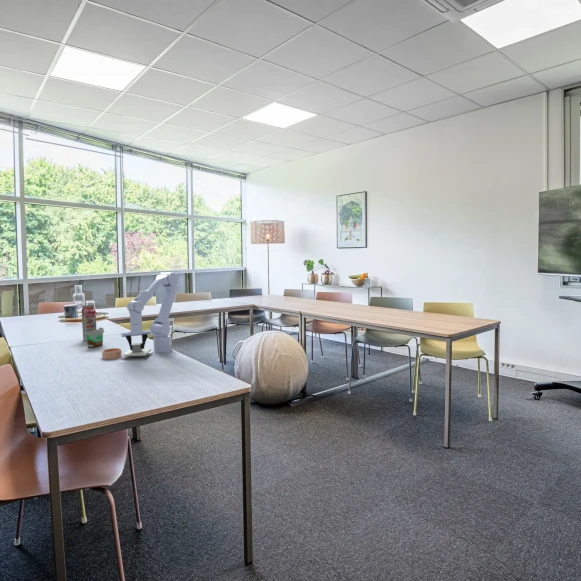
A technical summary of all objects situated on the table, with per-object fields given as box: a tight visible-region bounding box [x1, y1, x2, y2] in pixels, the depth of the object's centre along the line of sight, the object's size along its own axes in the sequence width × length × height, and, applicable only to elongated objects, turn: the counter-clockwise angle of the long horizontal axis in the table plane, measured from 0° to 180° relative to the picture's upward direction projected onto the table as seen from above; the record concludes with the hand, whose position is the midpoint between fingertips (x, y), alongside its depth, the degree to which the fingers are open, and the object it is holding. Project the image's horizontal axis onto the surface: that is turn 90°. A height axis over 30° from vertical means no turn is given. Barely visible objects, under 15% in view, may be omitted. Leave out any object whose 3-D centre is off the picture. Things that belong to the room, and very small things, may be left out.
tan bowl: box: [101, 347, 123, 360], centre depth 215 cm, size 9×9×4 cm
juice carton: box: [81, 304, 97, 342], centre depth 258 cm, size 7×7×22 cm
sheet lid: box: [122, 342, 152, 357], centre depth 216 cm, size 11×11×5 cm
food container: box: [86, 327, 105, 349], centre depth 241 cm, size 12×6×10 cm, turn 168°
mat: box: [120, 352, 154, 361], centre depth 216 cm, size 13×13×1 cm
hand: (137, 349), depth 216 cm, fingers closed on sheet lid, 5 cm apart
